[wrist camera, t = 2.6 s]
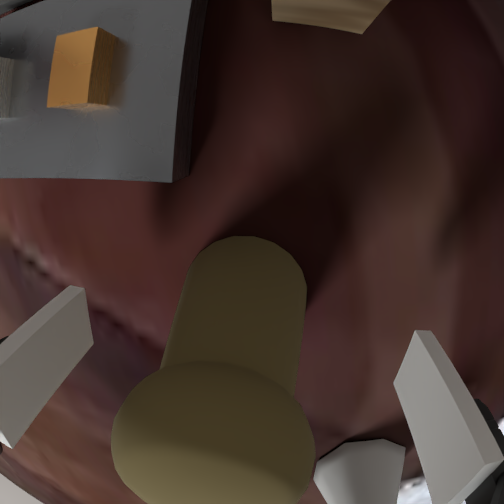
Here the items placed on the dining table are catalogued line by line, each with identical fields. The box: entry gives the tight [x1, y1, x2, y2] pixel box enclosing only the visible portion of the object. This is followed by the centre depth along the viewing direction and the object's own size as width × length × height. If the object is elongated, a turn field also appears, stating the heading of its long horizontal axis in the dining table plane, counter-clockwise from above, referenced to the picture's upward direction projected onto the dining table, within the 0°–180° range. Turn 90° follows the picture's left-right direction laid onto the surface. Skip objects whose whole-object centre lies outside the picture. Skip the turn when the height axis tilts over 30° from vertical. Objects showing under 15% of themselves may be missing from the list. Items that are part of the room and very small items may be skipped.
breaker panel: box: [0, 0, 208, 183], centre depth 11 cm, size 14×9×4 cm, turn 85°
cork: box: [111, 236, 316, 504], centre depth 11 cm, size 6×6×11 cm
